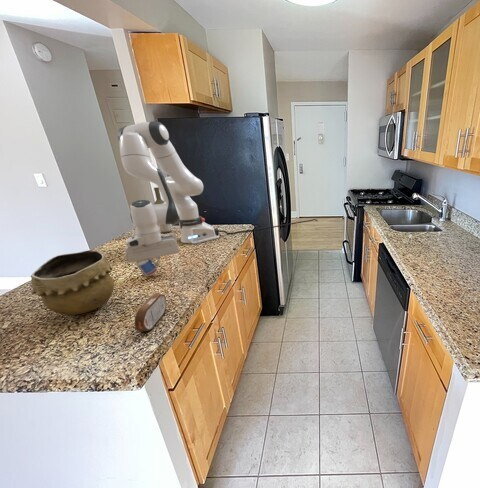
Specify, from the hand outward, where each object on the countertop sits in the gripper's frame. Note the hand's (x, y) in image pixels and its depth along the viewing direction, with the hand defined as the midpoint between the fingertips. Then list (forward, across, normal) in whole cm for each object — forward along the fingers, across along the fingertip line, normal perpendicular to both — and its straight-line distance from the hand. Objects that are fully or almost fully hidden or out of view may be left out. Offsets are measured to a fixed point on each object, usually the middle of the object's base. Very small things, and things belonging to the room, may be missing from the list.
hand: (156, 265), depth 120 cm
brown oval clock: (+5, +4, +40) cm, 40 cm away
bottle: (+3, -10, -67) cm, 67 cm away
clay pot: (+4, +24, +18) cm, 30 cm away
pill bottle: (+3, +3, 0) cm, 4 cm away
